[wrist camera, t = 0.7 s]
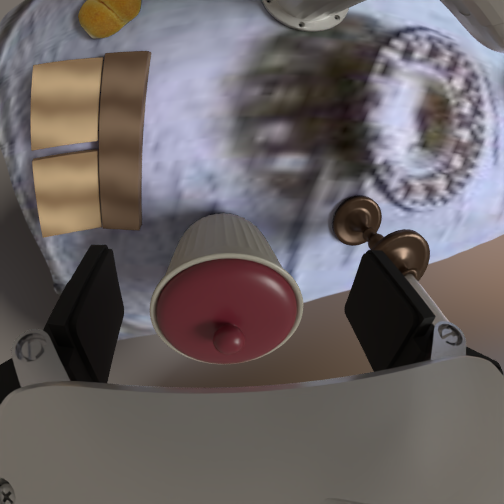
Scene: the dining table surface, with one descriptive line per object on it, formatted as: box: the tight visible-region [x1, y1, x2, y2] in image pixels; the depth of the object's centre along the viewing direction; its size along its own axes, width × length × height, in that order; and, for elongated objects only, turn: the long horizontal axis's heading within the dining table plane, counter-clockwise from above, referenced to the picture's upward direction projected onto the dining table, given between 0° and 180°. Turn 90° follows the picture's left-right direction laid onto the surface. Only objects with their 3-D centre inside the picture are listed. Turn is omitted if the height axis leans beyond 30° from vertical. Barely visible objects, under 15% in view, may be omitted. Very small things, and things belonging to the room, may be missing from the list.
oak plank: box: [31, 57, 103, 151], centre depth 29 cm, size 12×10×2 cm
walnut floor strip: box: [99, 51, 151, 230], centre depth 35 cm, size 26×6×2 cm, turn 171°
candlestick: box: [333, 196, 449, 326], centre depth 33 cm, size 11×11×35 cm
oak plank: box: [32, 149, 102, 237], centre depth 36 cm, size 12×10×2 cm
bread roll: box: [78, 0, 141, 39], centre depth 23 cm, size 8×9×4 cm
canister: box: [150, 213, 303, 364], centre depth 38 cm, size 18×18×21 cm
